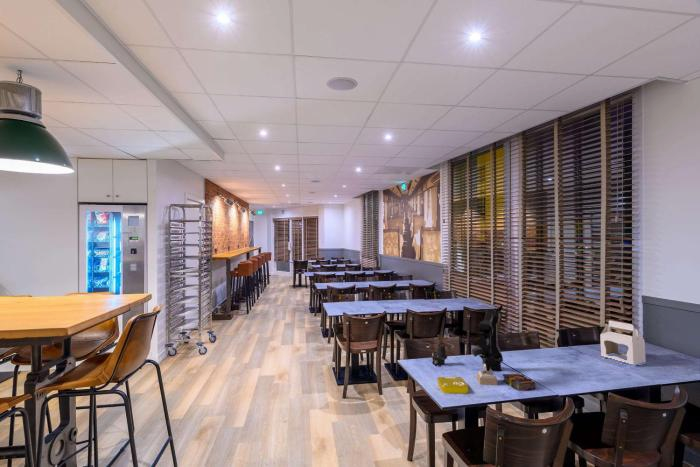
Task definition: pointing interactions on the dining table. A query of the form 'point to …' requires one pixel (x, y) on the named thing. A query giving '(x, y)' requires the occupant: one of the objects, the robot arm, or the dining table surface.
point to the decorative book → (519, 381)
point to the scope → (439, 356)
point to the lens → (485, 368)
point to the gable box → (633, 342)
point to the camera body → (486, 378)
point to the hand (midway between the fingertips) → (486, 369)
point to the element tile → (452, 385)
